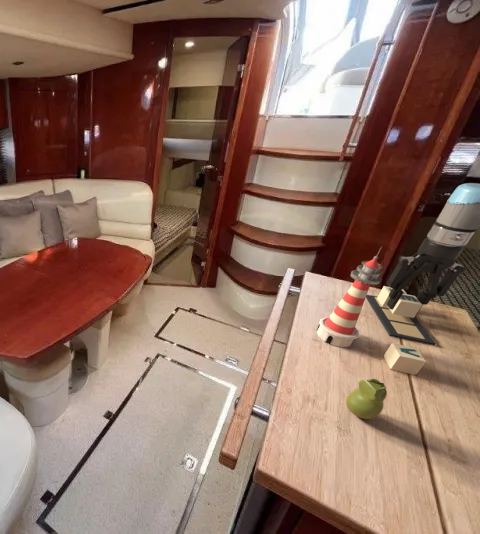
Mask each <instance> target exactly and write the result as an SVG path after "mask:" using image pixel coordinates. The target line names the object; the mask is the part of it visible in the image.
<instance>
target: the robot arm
mask: <svg viewBox="0 0 480 534" xmlns="http://www.w3.org/2000/svg"><path fill="white" fill-rule="evenodd" d="M479 227H480V183H477V182H475V183H474V182H468V183H463V184H460V185H458V186H457V187H456V188H455V190H454V191H453V192H452V194H451V195H450V196H449V198H448V199H447V201H446V203H445V204H444V207H443V208H442V210H441V212H440V213H439V215H438V217H437V218H436V220H435V222H434V223H433V224H432V226H431V228H430V230H429V231H428V233H427V235H426V238H424V240H423V241H422V243H421V244H420V246H419V248H418V250H417V252H416V253H414V254H413V255H412V256H405V255H400V256H399V257H398V263H397V264H396V266H395V268H394V270H393V271H392V273H391V274H390V276H389V278H388V280H387V281H386V284H387V286H388V287H390V288H392V290H391V292H390V293H389V297H390V299H389V301H388V303H387V306H388V307H389V309H392V310H393V308H394V307H395V305H396V304H397V302H398V301H399V299H400V298H401V296H402V294H403V293H404V292H403V291H402V289H403V290H404V288H406V287H407V285H409V284H410V283H411V282H412V281H413V280H414V279H415V278H417V277H418V276H420V275H422V274H423V273H429V275H428V277H427V282H426V285H425V286H426V287H425V291H420V292H419V294H418V295H417V297H416V298H417V299H418V300H419V301H420V303H421V304H422V307H423V306H427V305H428V304H429V303H430V301H431V300H432V299H435V298H437V297H438V296H439V297H444V296H445V295H446V294H447V293H448V291H449V290H450V288H451V287H452V285H453V284H454V283H455V281H456V280H457V278H458V277H459V275H460V274H462V273H463V272H465V271H466V267H464V266H463V265H462V264H461V263H456V259H458V258H459V256H460V255H461V253H462V252H463V250H464V249H465V247H464V246H467V245H468V243H469V241H470V240H471V238H472V237H473V236H474V234H475V233H476V232H477V230H478V229H479ZM412 262H413V264H412V265H411V263H412ZM409 265H411V266H410V267H409V270H408V271H406V270H407V269H408V266H409ZM446 269H447V271H446V272H445V273H444V275H443V271H444V270H446ZM404 273H405V274H404ZM442 275H443V277H442ZM441 277H442V278H441ZM440 279H441V280H440ZM422 307H421V308H420V309H419V311H418V312H417V314H418V313H419V312H420V310H421V309H422Z"/></svg>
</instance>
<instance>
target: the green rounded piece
mask: <svg viewBox="0 0 480 534" xmlns="http://www.w3.org/2000/svg"><path fill="white" fill-rule="evenodd" d="M357 383H358V388H356V389H354V390H353V391H351V392H350V393H349V394H348V395H347V397H346V400H345V404H346V407H347V409H348V410H349V412H351V413H352V414H353V415H354V416H356V417H358V418H360V419H365V420H369V419H374V418H376V417H378V416H379V415H380V414H381V413H382V411H383V409H384V401H385V399H386V398H387V393H388V391H387V386H386V385H385V383H384V382H381V381H380V380H378V379H377V378H370V379H361V380H358V382H357Z"/></svg>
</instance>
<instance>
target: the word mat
mask: <svg viewBox="0 0 480 534" xmlns="http://www.w3.org/2000/svg"><path fill="white" fill-rule="evenodd" d="M377 297H378V295H371V294H367V295H366V298H365V299H366V300H367V302H368V304H369V305H370V307H371V308H372V310H373V311H374V313H375V315H376V316H377V318H378V320H379V321H380V323H381V325H382V327H383V328H384V329H385V331H386V333H387V335H388V336H389V337H390V338H391V337H392V338H396V339H401V340H406V341H410V342H415V343H420V344H426V345H429V346H436V344H437V343H436V342H435V340H434V339H433V338H432V337H431V335H430V334H429V333H428V331H427V330H426V329H425V327H424V326H423V325H422V323H421V322H420V321H419V319H418V318H417V317H416V316H415V317H414V318H411V317H406V316H401V315H396V314H393V313H392V312H391V311H390V309H389V308H388V307H384V306H382V305H381V304H380V302H379V300H378V299H377Z"/></svg>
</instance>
